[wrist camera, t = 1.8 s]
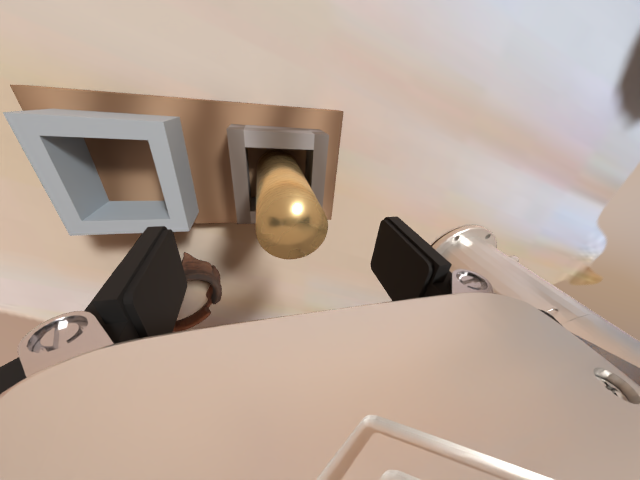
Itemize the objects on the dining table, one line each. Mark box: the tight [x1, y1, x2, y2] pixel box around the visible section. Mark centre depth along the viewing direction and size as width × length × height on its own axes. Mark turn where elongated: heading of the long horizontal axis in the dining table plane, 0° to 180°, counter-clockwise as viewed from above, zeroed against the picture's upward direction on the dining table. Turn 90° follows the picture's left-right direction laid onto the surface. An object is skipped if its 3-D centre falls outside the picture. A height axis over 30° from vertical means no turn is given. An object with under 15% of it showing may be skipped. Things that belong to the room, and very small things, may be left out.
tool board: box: [10, 85, 343, 224], centre depth 21 cm, size 24×11×5 cm, turn 85°
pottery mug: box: [172, 252, 222, 333], centre depth 27 cm, size 12×10×8 cm
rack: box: [3, 109, 199, 236], centre depth 19 cm, size 8×8×4 cm
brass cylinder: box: [256, 149, 328, 259], centre depth 18 cm, size 4×4×12 cm
